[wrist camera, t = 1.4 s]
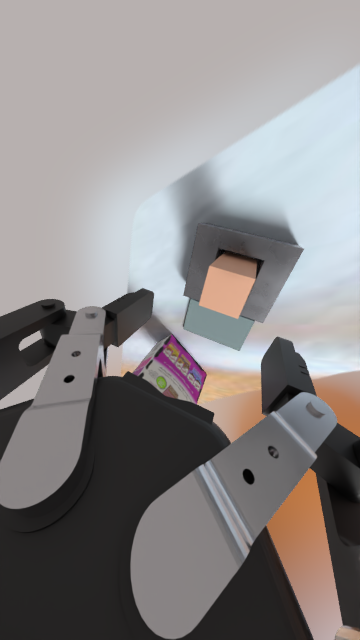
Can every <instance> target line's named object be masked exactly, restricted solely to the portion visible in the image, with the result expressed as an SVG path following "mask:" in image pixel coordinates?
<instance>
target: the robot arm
mask: <svg viewBox="0 0 360 640" xmlns="http://www.w3.org/2000/svg"><path fill="white" fill-rule="evenodd" d="M153 299H154V293H153V292H152V291H149V290H146V289H144V288H142V289H140V290H138V291H137V292H135V293H134V292H133V293H129V294H126V295H124V296H122V297H121V298H118V299H117V300H115V301H113V302H111V303H109V304H108V305H106V306H104V307H102V308H100V307H94V306H92V307H91V306H90V307H85V308H82V309H80V310H78V311H77V312H76V311H70V310H66V309H65V305H64V302H62V301H60V300H56V299H46V300H41V301H38V302H36V303H33V304H31V305H28V306H26V307H23V308H21V309H18V310H16V311H13V312H11V313H8V314H6V315H3V316H1V317H0V400H1V399H2V398H4V397H5V396H6V395H7V394H9V393H10V392H12V391H13V390H14V389H16V388H17V387H18V386H19V385H21V384H22V383H24V382H25V381H26V380H28V379H29V378H30V377H32V376H33V375H35V374H36V373H37V372H38V371H40V370H41V369H43V368H44V367H45V366H47V365H48V364H49V365H48V368H47V371H46V373H45V375H44V377H43V380H42V382H41V385H40V387H39V389H38V392H37V394H36V397H35V399H31V400H28V401H25V402H22V403H19V404H16V405H13V406H10V407H7V408H4V409H0V640H314V639H313V637H312V634H311V632H310V629H309V627H308V624H307V622H306V620H305V617H304V615H303V612H302V610H301V608H300V605H299V603H298V600H297V598H296V596H295V593H294V591H293V589H292V586H291V584H290V581H289V579H288V577H287V574H286V572H285V569H284V567H283V565H282V562H281V560H280V557H279V555H278V553H277V550H276V548H275V545H274V543H273V541H272V538H271V536H270V533H269V531H268V529H267V526H266V524H267V523H268V522H269V520H270V519H271V518H272V516H273V515H274V514H275V512H276V511H277V510H278V509H279V507H280V506H281V505H282V503H283V502H284V501H285V499H286V498H287V497H288V495H289V494H290V493H291V491H292V490H293V489H294V487H295V486H296V485H297V484H298V482H299V481H300V480H301V478H302V477H303V476H304V474H305V473H306V471H307V470H308V469H309V468H311V469H312V470H313V471H314V472H315V473H316V477H317V483H318V488H319V493H320V499H321V505H322V511H323V516H324V521H325V527H326V533H327V539H328V544H329V550H330V555H331V561H332V566H333V572H334V578H335V583H336V589H337V594H338V600H339V605H340V611H341V617H342V622H343V626H342V627H340V628H339V629H338V631H337V633H336V635H335V639H334V640H360V438H359V437H358V436H356V435H355V434H353V433H352V432H350V431H349V430H347V429H346V428H344V427H343V426H341V425H340V424H338V423H337V418H336V416H335V414H334V412H333V411H332V409H331V408H330V407H329V406H328V405H327V404H326V403H325V402H324V401H323V400H321V399H320V398H318V397H317V396H316V392H315V389H314V386H313V383H312V380H311V378H310V376H309V372H308V370H307V366H306V363H305V361H304V359H303V358H302V357H301V356H300V354H299V353H296V352H295V350H294V346H293V343H292V342H291V341H289V340H286V339H283V338H280V337H276V338H275V339H274V341H273V343H272V344H271V346H270V347H269V349H268V350H267V352H266V353H265V355H264V357H263V359H262V362H261V387H262V414H264V415H266V416H267V417H265V418H264V419H263V420H261V421H260V422H259V423H258V424H256V425H255V426H254V427H252V428H251V429H250V430H248V431H247V432H246V433H245V434H243V435H242V436H241V437H239V438H238V439H237V440H235V441H234V442H233V443H231V442H230V441H229V439H228V438H227V436H226V435H225V434H224V432H223V431H222V430H221V429H220V428H219V427H218V426H217V425H216V424H215V423H214V422H213V417H214V413H213V412H211V411H209V410H207V409H205V408H203V407H201V406H199V405H197V404H195V403H193V402H190V401H185V400H180V399H176V398H171V397H167V396H165V395H164V394H162V393H161V392H160V391H159V390H158V389H157V388H155V387H154V386H153V385H152V384H151V383H150V382H148V381H147V380H145V379H143V378H141V377H139V376H137V375H135V374H133V373H131V372H129V371H128V372H127V373H126V374H125V375H124V376H123V377H118V376H108V377H106V370H107V358H108V346H109V345H111V344H112V345H114V346H117V347H119V346H120V345H121V344H122V343H123V342H125V341H126V340H127V339H128V338H129V337H130V336H131V335H132V334H133V333H134V332H136V331H137V330H138V329H139V328H140V327H141V326H142V325H143V324H144V323H146V322H147V321H148V320H149V318H150V317H151V314H152V308H153ZM39 330H40V333H41V336H42V339H40V340H38V341H37V342H35V343H33V344H32V345H30V346H28V347H27V348H25V349H23V350H21V351H20V350H19V344H20V342H21V341H22V339H24V338H26V337H28V336H30V335H31V334H33V333H35V332H37V331H39Z"/></svg>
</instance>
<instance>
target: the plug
mask: <svg viewBox="0 0 360 640" xmlns="http://www.w3.org/2000/svg"><path fill="white" fill-rule="evenodd" d="M256 268H257V259H254V258H250V257H247V256H243V255H239V254H236V253H232V252H228V251H225V252H224V253H223V254H222V255H221V256H220V257H219V258H218V259H216V260H215V261H214V262H213V263H212V264H211V265H210V266H209V269H208V273H207V277H206V280H205V284H204V287H203V291H202V295H201V298H200V302H199V305H200V306H202V307H205V308H208V309H211V310H214V311H217V312H219V313H222V314H225V315H228V316H231V317H233V318H236V319H238V318H239V315H240V313H241V311H242V309H243V306H244V304H245V302H246V300H247V298H248V295H249V293H250V291H251V289H252V286H253V284H254V282H255V280H256Z"/></svg>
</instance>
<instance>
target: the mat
mask: <svg viewBox="0 0 360 640" xmlns="http://www.w3.org/2000/svg"><path fill="white" fill-rule="evenodd" d="M199 302H200V301H198V300H195V299H192V298H191V299H190V303H189V307H188V312H187V316H186V320H185V324H184V328H183V329H185V330H187V331H190V332H192V333H195V334H197V335H200V336H202V337H205V338H207V339H210V340H213V341H215V342H218V343H220V344H223V345H225V346H228V347H230V348H233V349H235V350H238V351H240V349H241V347H242V345H243V343H244V341H245V339H246V337H247V335H248V333H249V331H250V329H251V327H252V325H253V323H254V322H255V320H253V319H250V318H247V317H244V316H241V315H239V318H238V319H236V318H233V317H231V316H228V315H225V314H222V313H219V312H217V311H214V310H211V309H208V308H205V307H202V306H200V305H199Z"/></svg>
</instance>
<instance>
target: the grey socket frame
mask: <svg viewBox="0 0 360 640" xmlns="http://www.w3.org/2000/svg"><path fill="white" fill-rule="evenodd" d="M222 249H224V250H228V251H231V252H235V253H239V254H243V255H246V256H250V257H254V258H258V259H261V260H262V262H261V264H260V267H259V269H258V271H257V273H256V280H255V282H254V284H253V286H252V289H251V291H250V293H249V295H248V298H247V300H246V302H245V304H244V306H243V309H242V311H241V313H240V315H241V316H244V317H247V318H250V319H253V320H256V321H258V322H261V323H263V322H264V320H265V318H266V316H267V315H268V313H269V311H270V309H271V307H272V306H273V304H274V302H275V300H276V298H277V297H278V295H279V293H280V291H281V289H282V288H283V286H284V284H285V282H286V280H287V279H288V277H289V275H290V273H291V271H292V270H293V268H294V266H295V264H296V262H297V261H298V259H299V257H300V255H301V253H302V252H303V250H304V249H303V248H302V247H300V246H299V245H295V244H291V243H287V242H283V241H279V240H274V239H270V238H266V237H262V236H258V235H253V234H249V233H245V232H241V231H236V230H232V229H228V228H224V227H220V226H215V225H211V224H207V223H199V224H198V228H197V233H196V238H195V242H194V247H193V252H192V257H191V262H190V266H189V271H188V276H187V281H186V285H185V290H184V296H187V297H189V298H192V299H195V300H198V301H200V298H201V295H202V291H203V287H204V284H205V280H206V277H207V273H208V269H209V266H210V265H211V264H212V263H213V262H214V261H215V260H216V259H218V258H219V256H220V253H221V250H222Z"/></svg>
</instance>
